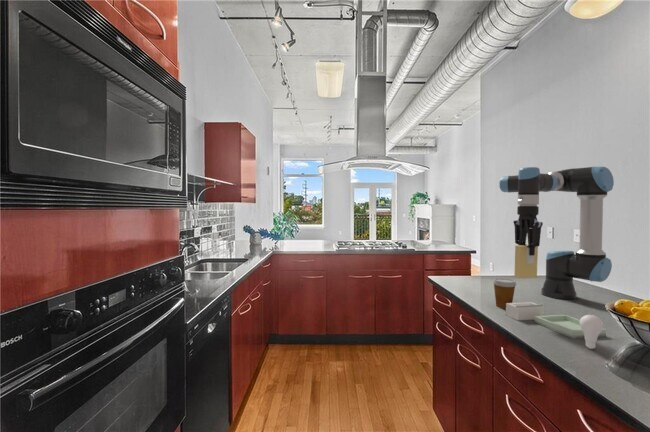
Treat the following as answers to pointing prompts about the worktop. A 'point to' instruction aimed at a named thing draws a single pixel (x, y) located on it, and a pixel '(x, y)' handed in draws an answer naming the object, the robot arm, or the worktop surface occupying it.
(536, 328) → the worktop surface
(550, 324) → the tray
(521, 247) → the pale yellow tall box
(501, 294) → the disposable coffee cup
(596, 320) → the lightbulb
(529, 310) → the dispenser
